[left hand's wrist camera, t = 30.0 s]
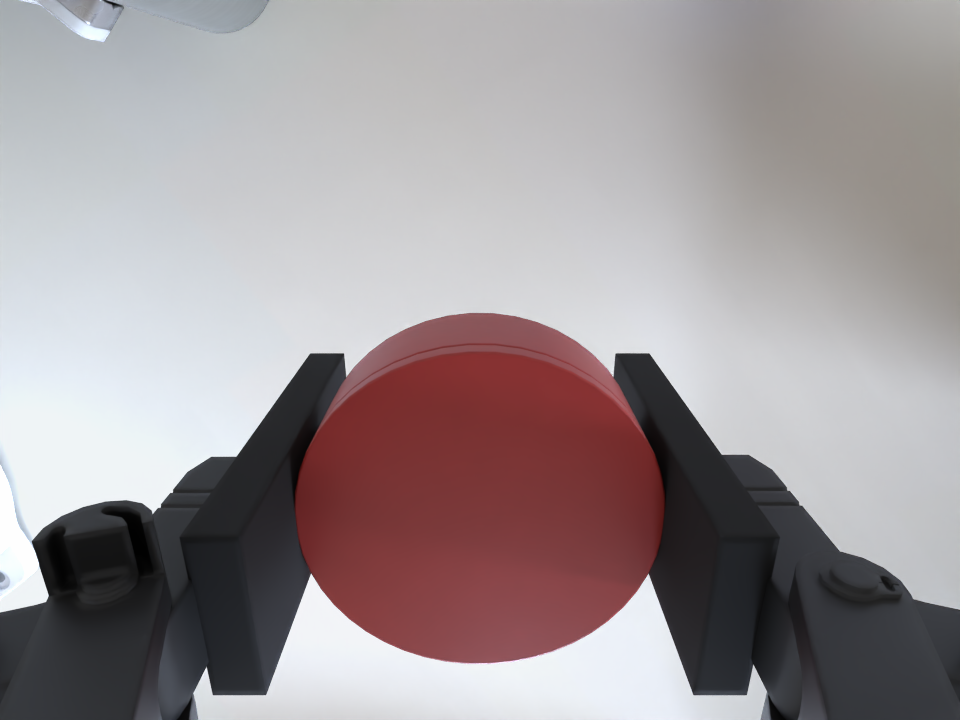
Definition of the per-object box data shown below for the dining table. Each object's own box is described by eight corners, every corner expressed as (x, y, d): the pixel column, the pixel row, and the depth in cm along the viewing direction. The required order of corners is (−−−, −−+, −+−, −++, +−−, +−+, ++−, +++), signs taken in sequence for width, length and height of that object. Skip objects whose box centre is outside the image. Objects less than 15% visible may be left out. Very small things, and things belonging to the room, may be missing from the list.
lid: (324, 578, 13) (299, 655, 11) (319, 299, 11) (286, 337, 9) (611, 595, 13) (632, 674, 11) (663, 324, 11) (700, 366, 9)
